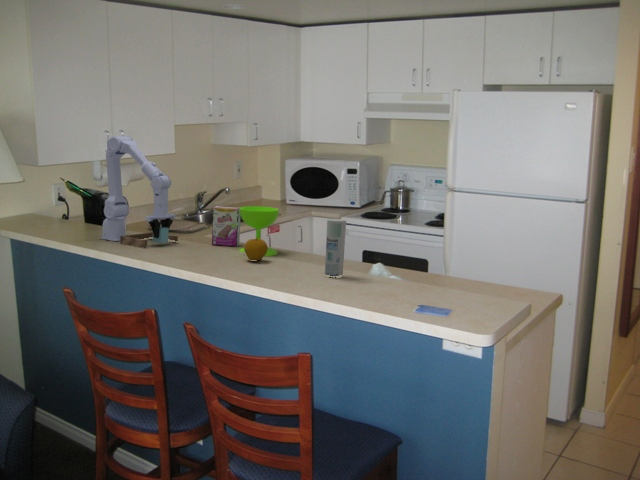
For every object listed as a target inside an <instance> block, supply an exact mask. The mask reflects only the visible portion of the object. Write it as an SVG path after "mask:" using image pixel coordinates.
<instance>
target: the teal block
mask: <svg viewBox="0 0 640 480" xmlns="http://www.w3.org/2000/svg"><path fill="white" fill-rule="evenodd" d="M169 229H170V228H167V227H162V226H161V225H160V230H159V238H154V234H153V240H152V242H154V243H159V244H166V243H169V242H168V235H169V234H170V233H169Z"/></svg>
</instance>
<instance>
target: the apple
mask: <svg viewBox="0 0 640 480" xmlns="http://www.w3.org/2000/svg"><path fill="white" fill-rule="evenodd" d="M243 248H244V250H245V253H246V255H245V256H246V257H247V258H248V260H249V259H250V260H260V259H261V260H262V259H263V258H264V257H266V256H265V254H266V253H267V250H268V248H269V247H268V244H267V242H266V241H265V240H264V239H262V238H261V239H257V238H256V237H255V238H252V239H251V238H250V239H248V240H247V241H246V242H245V243H244V247H243ZM250 260H249V261H250ZM261 260H260V261H261Z"/></svg>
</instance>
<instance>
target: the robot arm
mask: <svg viewBox="0 0 640 480" xmlns="http://www.w3.org/2000/svg"><path fill="white" fill-rule="evenodd" d="M126 154H128V155H129V156H130V157H132V159H134V160H135V161H136V162H137V163H138V164H139V166H141V172H142V173H143V174H144V176H146V177H147V179H148V180H149V181H150V186H151V188H152V191H153V192H152V193H153V214H151V215H145V221H146V222H148V224H149V226H150V228H151V231H152V232H153V234H154V238H159V230H160V226H161V227H167V228H169V229H170V228H171V227H172V224H173V222H174V219H176V213H169V188H171V185H172V180H171V179H172V178H171V177H170V176H169V175H167V174H164V173H163V172H162V171H161V170H160V169H159V167H158V166H157V164H156V163H155V162H154V161H148V159H147V158H146V156H145V155H144V154H143V152H142V151H141V149H139V147H138V145H137V142H136V140H134V139H133V137H131V136H129V135H128V136H127V135H126V136H118V135H112V136H110V138H109V139H107V141H106V153H105V163H106V172H107V173H106V176H107V187H108V188H107V189H108V197H107V199H105V201H104V208H103V213H104V214H103V215H104V217H105V219H104V220H103V223H102V236H101V237H100V239H102V240H108V241H112V242H120V236H126V219H127V216H128V215H129V214H130V207H129V205H128V200H127V199H126V198H125V196H123V195H124V194H123V185H122V184H123V183H122V172H121V171H122V170H121V158H122V157H124V155H126Z"/></svg>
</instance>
